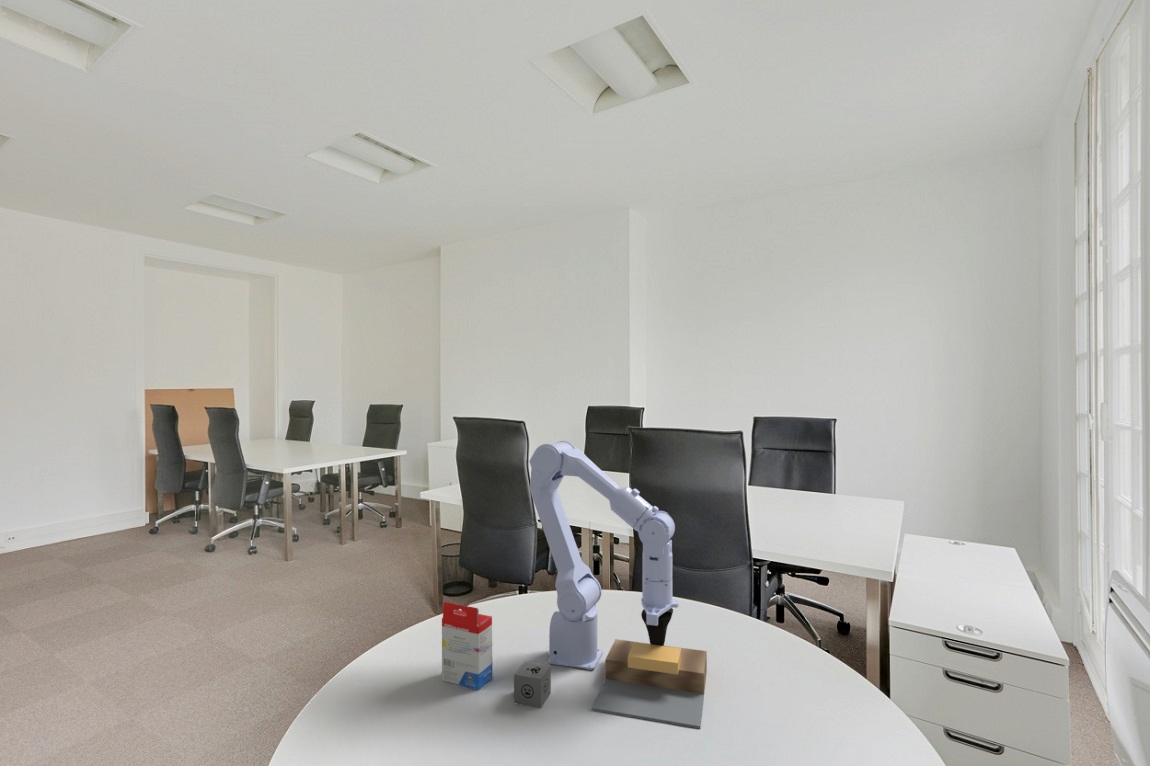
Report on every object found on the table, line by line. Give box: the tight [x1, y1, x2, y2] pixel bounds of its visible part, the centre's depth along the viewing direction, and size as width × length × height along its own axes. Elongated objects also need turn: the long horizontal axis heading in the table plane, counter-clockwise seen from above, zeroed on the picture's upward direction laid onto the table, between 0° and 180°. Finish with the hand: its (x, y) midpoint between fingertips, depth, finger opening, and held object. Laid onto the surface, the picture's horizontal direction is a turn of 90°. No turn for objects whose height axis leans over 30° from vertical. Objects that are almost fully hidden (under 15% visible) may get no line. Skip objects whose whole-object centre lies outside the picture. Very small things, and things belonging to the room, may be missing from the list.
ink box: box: [441, 601, 493, 691], centre depth 103 cm, size 8×5×15 cm, turn 65°
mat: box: [591, 678, 705, 729], centre depth 96 cm, size 18×11×1 cm, turn 74°
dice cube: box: [513, 661, 552, 709], centre depth 97 cm, size 5×5×5 cm
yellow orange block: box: [628, 641, 682, 674], centre depth 102 cm, size 9×6×2 cm, turn 74°
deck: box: [604, 638, 708, 695], centre depth 105 cm, size 18×9×4 cm, turn 74°
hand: (657, 648), depth 105 cm, fingers closed
